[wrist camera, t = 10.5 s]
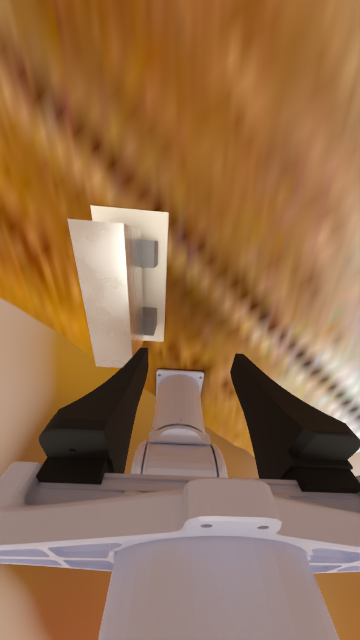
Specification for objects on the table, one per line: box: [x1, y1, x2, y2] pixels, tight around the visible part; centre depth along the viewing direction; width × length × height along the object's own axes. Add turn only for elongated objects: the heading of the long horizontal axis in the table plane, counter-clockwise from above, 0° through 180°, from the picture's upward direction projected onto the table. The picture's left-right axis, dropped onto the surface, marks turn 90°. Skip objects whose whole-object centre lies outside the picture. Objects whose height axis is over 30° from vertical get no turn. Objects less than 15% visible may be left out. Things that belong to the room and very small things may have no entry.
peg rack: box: [90, 205, 169, 342], centre depth 19 cm, size 16×8×4 cm, turn 175°
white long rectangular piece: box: [68, 219, 144, 368], centre depth 15 cm, size 12×4×5 cm, turn 176°
